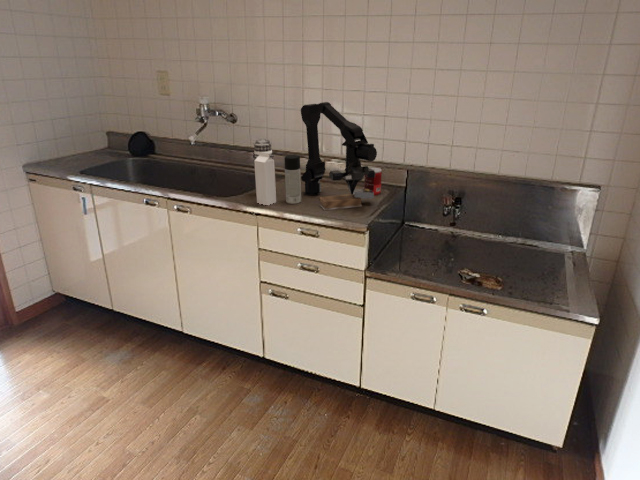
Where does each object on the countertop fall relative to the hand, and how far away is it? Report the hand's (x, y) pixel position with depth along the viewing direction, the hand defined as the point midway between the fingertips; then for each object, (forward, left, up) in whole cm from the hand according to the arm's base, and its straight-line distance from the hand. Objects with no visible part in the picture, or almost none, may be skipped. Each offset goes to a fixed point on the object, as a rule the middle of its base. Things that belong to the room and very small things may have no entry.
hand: (351, 194), depth 197 cm
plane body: (-4, -3, -5) cm, 7 cm away
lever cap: (+5, +2, -1) cm, 5 cm away
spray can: (-25, -2, -5) cm, 26 cm away
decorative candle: (-41, +6, -5) cm, 42 cm away
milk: (-36, -6, -5) cm, 37 cm away
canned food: (+7, +18, -5) cm, 20 cm away
